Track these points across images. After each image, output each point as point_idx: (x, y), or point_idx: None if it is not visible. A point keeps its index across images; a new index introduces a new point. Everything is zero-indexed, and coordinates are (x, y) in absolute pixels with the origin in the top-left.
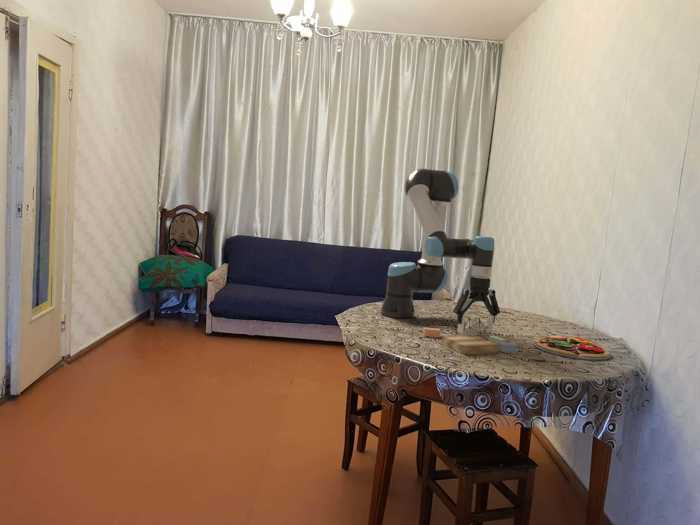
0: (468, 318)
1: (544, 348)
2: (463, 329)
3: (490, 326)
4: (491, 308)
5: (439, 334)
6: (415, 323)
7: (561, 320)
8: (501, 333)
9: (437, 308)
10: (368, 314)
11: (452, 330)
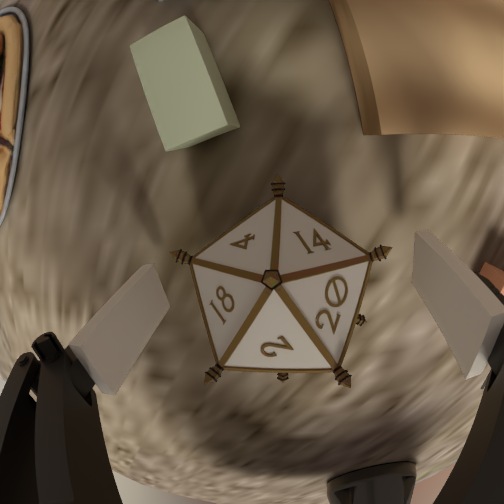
0: (348, 374)
1: (20, 59)
2: (426, 243)
3: (136, 292)
4: (51, 410)
5: (496, 271)
6: (394, 440)
7: None
8: None
9: (218, 495)
10: (439, 461)
11: (313, 395)
